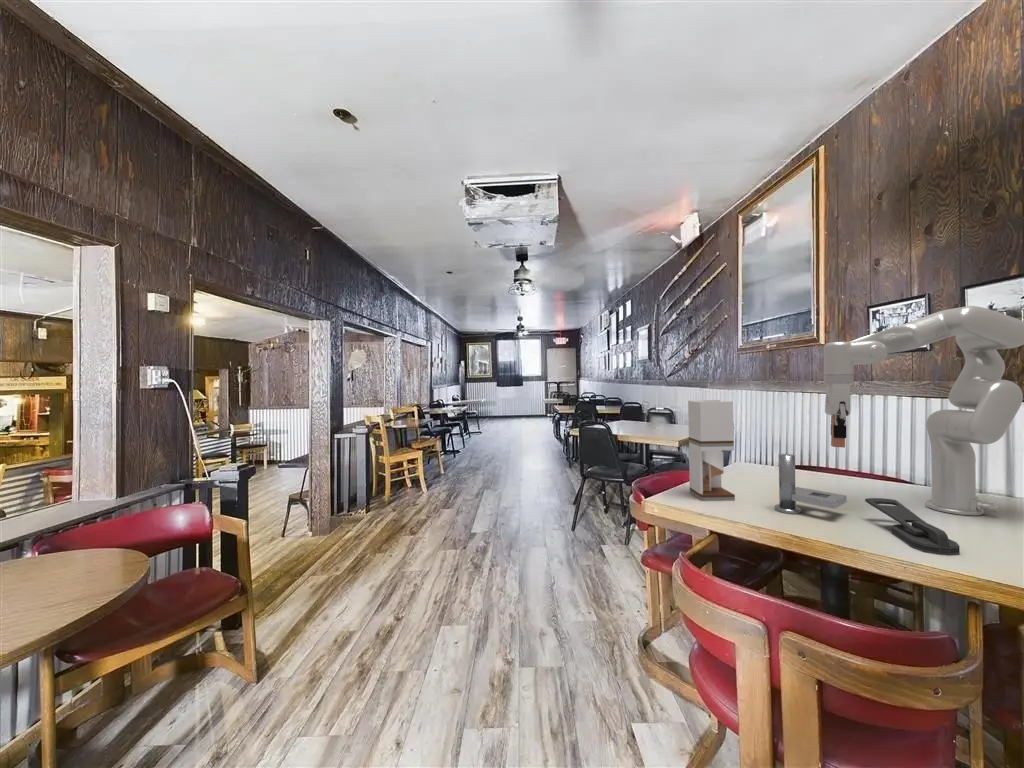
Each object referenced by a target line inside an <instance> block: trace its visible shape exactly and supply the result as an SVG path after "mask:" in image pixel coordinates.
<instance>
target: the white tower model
mask: <svg viewBox="0 0 1024 768" xmlns="http://www.w3.org/2000/svg"><path fill="white" fill-rule="evenodd" d="M687 402H688V403H687V407H688V408H687V409H688V410H687V411H688V414H687V416H688V419H687V420H688V459H689V462H688V465H689V467H688V469H689V493H690V494H691V495H693V496H694V497H696V498H697V499H699V501H702V502H711V501H712V502H715V501H716V502H720V501H722V502H725V501H727V502H728V501H736V497H735V496H736V494H734V493H732V492H730V491H729V490H727V489H725V488H723V487H722V475H723V474H724V472H725V471H724V452H723V451H734V450H735V447H734V446H735V439H734V438H735V437H734V436H735V433H734V401H731V400H730V401H720V399H702V400H687Z"/></svg>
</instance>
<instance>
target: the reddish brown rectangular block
mask: <svg viewBox="0 0 1024 768" xmlns="http://www.w3.org/2000/svg"><path fill="white" fill-rule="evenodd" d="M837 416H840V415H837ZM838 418H839V417H837V419H838ZM833 425H835V418H834V415H833V416H831V415H830V446H831V447H833V448H844V449H845V448H846V438H834V437H833Z"/></svg>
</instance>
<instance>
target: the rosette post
mask: <svg viewBox="0 0 1024 768" xmlns="http://www.w3.org/2000/svg"><path fill="white" fill-rule="evenodd" d="M778 497H779V498H778V499H779V500H778V501H779V504H778V503H777V504H775V505H774V510H775V511H776V512H778V513H782V514H787V515H801V514H802V510H801V508H800V507H798V506H796V505H797V504H796V503H797V502H798V503H802V504H807V505H814V506H817V507H818V506H819V507H824V508H827V509H837V508H838V507H840V506H842V505H844V504H845V503H847V502H848V501H847V497H848V496H847V495H846V494H839V493H833V492H828V491H822V490H817V489H810V488H806V487H799V486H796V455H794V454H791V453H778Z"/></svg>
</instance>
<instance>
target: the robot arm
mask: <svg viewBox="0 0 1024 768" xmlns="http://www.w3.org/2000/svg"><path fill="white" fill-rule="evenodd" d="M954 336H955V342H956V344H957V346H958V347H959V349H960V351H961V353H962V354H963V357H964V364H963V365H964V366H963V368H962V370H961V372H960V374H959V375H958V377H957V379H956V380H955V382H954V384H953V386H952V388H951V389H950V391H949V393H948V401H949V403H950V404H951V405H952V406H954V407H955V408H956V407H957V408H959V409H941V410H937V411H934V412H932V413H931V414H930V415H928V418H927V419H926V423H925V425H926V431H927V435H928V438H929V443H930V456H931V457H930V464H931V467H930V469H931V470H930V472H931V473H930V474H931V475H930V476H931V479H930V480H931V499H930V500H926V501H924V505H925V507H927V508H929V509H932V510H934V511H938V512H942V513H946V514H952V515H953V514H954V515H960V516H961V515H963V516H982V515H984V513H985V510H989V511H992V512H999V505H998V504H994V503H991V502H984V501H982V500H979V499H980V497H979V496H977V495H976V494H977V490H976V487H977V486H976V485H977V483H976V482H977V481H976V480H977V479H976V477H977V476H976V453H975V450H974V448H973V446H972V444H976V445H977V444H978V445H990V444H994V443H996V442H998V441H999V440H1000V439H1002V438H1003V436H1004V435H1005V433H1006V432H1007V430H1008V429H1009V427H1010V425H1011V424H1012V422H1013V420H1014V418H1015V417H1016V415H1017V413H1018V412H1019V410H1020V408H1021V406H1022V403H1023V399H1024V396H1023V394H1024V393H1023V391H1022V389H1021V387H1020V386H1019V385H1018V384H1016V383H1015V382H1014V381H1011V380H1007V379H1002V378H1003V375H1004V374H1005V371H1006V364H1005V361H1004V360H1003V358H1002V356H1001V355H1000V353H999V352H998V350H1009V349H1015V348H1018V347H1021V346H1023V345H1024V321H1023V320H1021V319H1018V318H1016V317H1013V316H1010V315H1008V314H1004V313H1001V312H998V311H995V310H993V309H989V308H987V307H981V306H975V305H968V306H962V307H955V308H954V307H953V308H948V309H944V310H940V311H936V312H934V313H931V314H928V315H925V316H922V317H920V318H917V319H915V320H911V321H909V322H906V323H903V324H900V325H897V326H893V327H890V328H888V329H887V328H886V329H884V330H881V331H878V332H875V333H872V334H868V335H864V336H862V337H859V338H855V339H853V340H850V341H833V342H828V343H825V344H824V346H823V385H824V386H826V389H825V398H824V399H825V401H824V413H825V414H826V415H828V416H830V417H831V416H833V415H834V418H835V425H833V437H834V438H845V439H847V417H849V416H850V415H851V386H853V385H854V383H855V381H854V380H855V379H854V370H855V369H854V368H855V367H854V366H858V365H874V364H877V363H880V362H882V361H883V360H884V359H885V358H886V357H887V355H888V354H893V353H901V352H906V351H911V350H916V349H919V348H922V347H925V346H927V345H930V344H933V343H936V342H939V341H941V340H944V339H947V338H950V337H951V338H952V337H954ZM961 409H964V410H961ZM969 410H970V411H969ZM837 415H840V416H837ZM837 417H839V418H838V419H837Z"/></svg>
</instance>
